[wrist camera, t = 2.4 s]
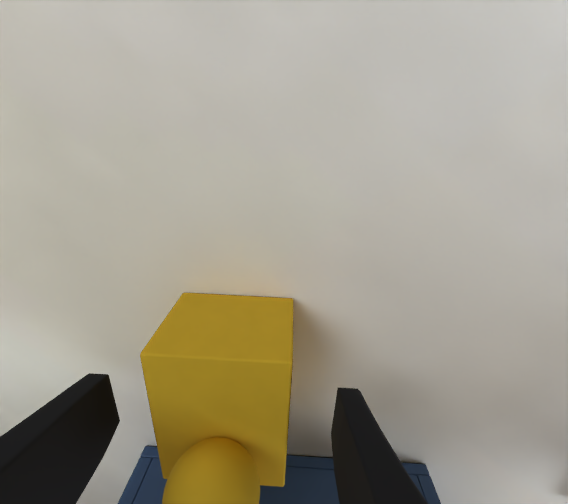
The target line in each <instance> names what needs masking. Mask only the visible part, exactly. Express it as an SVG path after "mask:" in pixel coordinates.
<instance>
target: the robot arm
mask: <svg viewBox="0 0 568 504" xmlns="http://www.w3.org/2000/svg"><path fill="white" fill-rule="evenodd" d="M119 421H120V420H119V416H118V412H117V407H116V403H115V399H114V395H113V391H112V387H111V383H110V379H109V375H106V374H88V375H86V376H85V377H84V378H82V379H81V380H79V381H78V382H76V383H75V384H73V385H72V386H71V387H69V388H68V389H66V390H65V391H64V392H62V393H61V394H60V395H58V396H57V397H55V398H54V399H53V400H51V401H50V402H48V403H47V404H46V405H44V406H43V407H42V408H40V409H39V410H37V411H36V412H35V413H33V414H32V415H30V416H29V417H28V418H26V419H25V420H23V421H22V422H21V423H19V424H18V425H16V426H15V427H14V428H12V429H11V430H9V431H8V432H7V433H5V434H4V435H2V436H1V437H0V504H76V502H77V501H78V499H79V497H80V496H81V494H82V492H83V491H84V489H85V487H86V485H87V484H88V482H89V480H90V479H91V477H92V475H93V474H94V472H95V470H96V468H97V467H98V465H99V463H100V462H101V460H102V458H103V456H104V454H105V452H106V450H107V448H108V446H109V444H110V442H111V439H112V437H113V435H114V433H115V430H116V428H117V426H118V424H119ZM331 438H332V451H333V464H334V474H335V480H336V486H337V492H338V498H339V504H428V503H427V501H426V500H425V498H424V497H423V495H422V494H421V492H420V491H419V489H418V488H417V486H416V485H415V483H414V482H413V480H412V479H411V477H410V476H409V474H408V473H407V471H406V470H405V468H404V467H403V465H402V463H401V462H400V460H399V459H398V457H397V455H396V454H395V452H394V451H393V449H392V447H391V446H390V444H389V442H388V441H387V439H386V437H385V436H384V434H383V432H382V431H381V429H380V427H379V425H378V424H377V422H376V420H375V418H374V416H373V415H372V413H371V411H370V409H369V407H368V405H367V403H366V402H365V400H364V398H363V396H362V394H361V392H360V391H359V390H358V389H353V388H338V390H337V397H336V404H335V411H334V417H333V424H332V431H331Z"/></svg>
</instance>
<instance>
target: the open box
mask: <svg viewBox="0 0 568 504" xmlns="http://www.w3.org/2000/svg"><path fill="white" fill-rule="evenodd" d="M402 465H403V467H404V468H405V470H406V471H407V473H408V474H409V476H410V477H411V479H412V480H413V482H414V483H415V485H416V486H417V488H418V489H419V491H420V492H421V494H422V495H423V497H424V498H425V500H426V501H427V503H428V504H441V503H440V500H439V497H438V495H437V492H436V490H435V487H434V485H433V482H432V480H431V477H430V476H429V472H428V470H427V467H426V465H425V464H415V463H402ZM166 482H167V479H164V478H163V475H162V469H161V464H160V459H159V453H158V448H157V447H152V446H145V448H144V450H143V452H142V454H141V457H140V458H139V461H138V463H137V465H136V467H135V469H134V471H133V473H132V475H131V477H130V479H129V481H128V483H127V485H126V488H125V490H124V492H123V494H122V496H121V498H120V500H119V502H118V504H162V499H163V493H164V488H165V485H166ZM259 504H339V498H338V492H337V486H336V480H335V474H334V464H333V458H322V457H307V456H291V455H287V456H286V472H285V485H284V486H283V487H279V486H264V485H260V499H259Z"/></svg>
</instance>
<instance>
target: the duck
mask: <svg viewBox="0 0 568 504" xmlns="http://www.w3.org/2000/svg"><path fill="white" fill-rule="evenodd" d="M140 357H141V363H142V368H143V373H144V379H145V384H146V389H147V395H148V400H149V405H150V411H151V416H152V421H153V427H154V432H155V437H156V443H157V448H158V453H159V459H160V464H161V469H162V475H163V478H164V479H167V482H166V485H165V488H164V493H163V499H162V504H259V499H260V485H264V486H279V487H283V486H284V485H285V472H286V456H287V441H288V426H289V411H290V395H291V380H292V365H293V299H292V298H274V297H255V296H237V295H218V294H200V293H183V294H182V295H181V297H180V298H179V300H178V301H177V302H176V304H175V305H174V307H173V308H172V310H171V311H170V312H169V314H168V315H167V317H166V318H165V319H164V321H163V322H162V324H161V325H160V326H159V328H158V329H157V331H156V332H155V334H154V335H153V336H152V338H151V339H150V341H149V342H148V343H147V345H146V346H145V348H144V349H143V350H142V352H141V354H140Z"/></svg>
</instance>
